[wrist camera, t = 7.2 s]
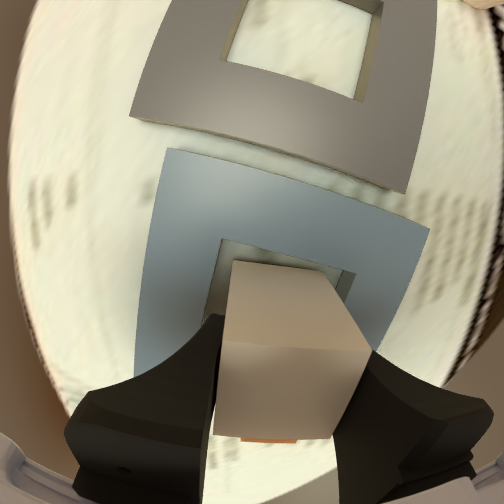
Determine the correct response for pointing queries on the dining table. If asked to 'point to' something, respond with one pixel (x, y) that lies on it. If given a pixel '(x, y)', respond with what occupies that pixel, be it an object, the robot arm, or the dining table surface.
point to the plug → (285, 356)
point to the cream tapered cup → (484, 3)
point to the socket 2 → (263, 246)
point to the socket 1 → (296, 90)
